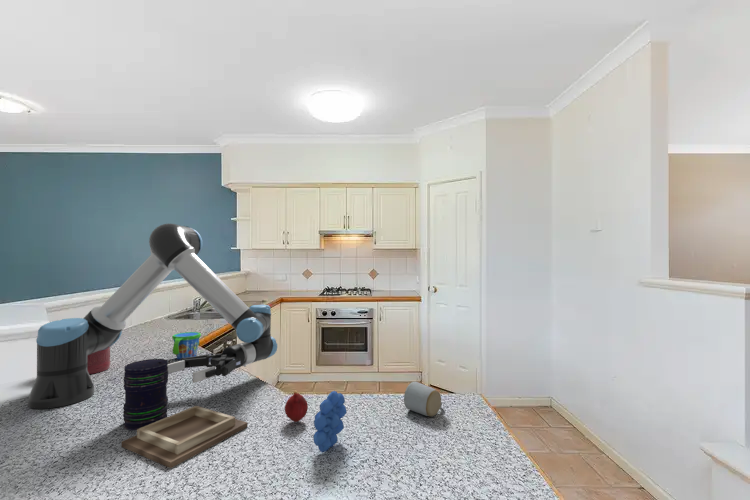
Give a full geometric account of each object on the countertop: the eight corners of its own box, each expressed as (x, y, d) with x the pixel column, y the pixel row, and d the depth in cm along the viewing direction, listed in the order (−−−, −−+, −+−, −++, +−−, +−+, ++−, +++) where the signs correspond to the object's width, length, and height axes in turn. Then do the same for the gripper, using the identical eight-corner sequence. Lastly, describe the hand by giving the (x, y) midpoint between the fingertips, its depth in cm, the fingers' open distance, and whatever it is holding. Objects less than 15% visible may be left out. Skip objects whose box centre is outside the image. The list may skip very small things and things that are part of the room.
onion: (311, 418, 96) (311, 388, 96) (300, 428, 90) (300, 396, 90) (292, 415, 97) (292, 386, 98) (280, 425, 92) (280, 393, 92)
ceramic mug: (428, 422, 94) (428, 392, 94) (403, 412, 99) (403, 384, 99) (449, 409, 102) (449, 382, 102) (424, 402, 107) (425, 375, 107)
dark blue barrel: (119, 434, 88) (120, 372, 88) (126, 418, 96) (126, 361, 97) (167, 425, 92) (167, 366, 93) (168, 410, 101) (169, 357, 101)
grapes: (328, 431, 89) (328, 382, 89) (352, 437, 86) (352, 386, 86) (299, 455, 78) (299, 399, 78) (325, 462, 75) (325, 404, 75)
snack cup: (188, 352, 163) (188, 330, 163) (209, 353, 161) (209, 330, 161) (161, 362, 147) (162, 337, 147) (184, 364, 145) (184, 338, 145)
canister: (116, 369, 139) (117, 323, 139) (75, 378, 128) (75, 328, 128) (102, 363, 146) (102, 319, 146) (61, 372, 135) (62, 325, 135)
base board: (121, 446, 82) (121, 432, 82) (200, 412, 99) (200, 401, 99) (170, 468, 73) (170, 452, 73) (247, 427, 91) (247, 414, 91)
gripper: (265, 372, 115) (207, 395, 96) (212, 362, 126) (151, 380, 108) (265, 348, 115) (207, 366, 96) (212, 340, 127) (151, 355, 108)
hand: (177, 374), depth 102 cm, fingers open, 13 cm apart
